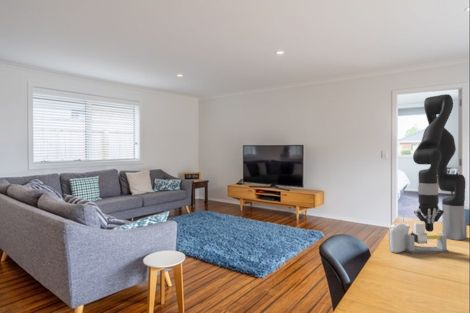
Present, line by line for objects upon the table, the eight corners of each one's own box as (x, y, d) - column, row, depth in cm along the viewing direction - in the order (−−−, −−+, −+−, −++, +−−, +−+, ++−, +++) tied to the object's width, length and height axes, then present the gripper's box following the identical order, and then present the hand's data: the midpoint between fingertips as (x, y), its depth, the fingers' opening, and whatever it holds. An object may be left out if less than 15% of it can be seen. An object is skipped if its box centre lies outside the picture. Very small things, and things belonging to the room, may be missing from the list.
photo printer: (399, 247, 135) (398, 221, 136) (409, 249, 132) (408, 222, 132) (388, 251, 130) (386, 224, 130) (397, 254, 126) (396, 225, 126)
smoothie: (404, 247, 135) (404, 218, 135) (391, 244, 140) (391, 215, 140) (412, 245, 138) (412, 216, 138) (400, 241, 143) (399, 214, 143)
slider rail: (439, 248, 132) (439, 231, 132) (448, 252, 127) (448, 234, 127) (404, 250, 131) (404, 232, 131) (411, 253, 126) (411, 235, 126)
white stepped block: (420, 240, 132) (420, 222, 131) (427, 243, 127) (426, 224, 127) (411, 240, 131) (411, 222, 131) (418, 243, 127) (418, 224, 127)
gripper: (435, 191, 133) (436, 228, 133) (408, 192, 132) (409, 229, 133) (448, 193, 126) (449, 232, 126) (420, 194, 125) (421, 234, 125)
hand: (429, 231), depth 129 cm, fingers closed
